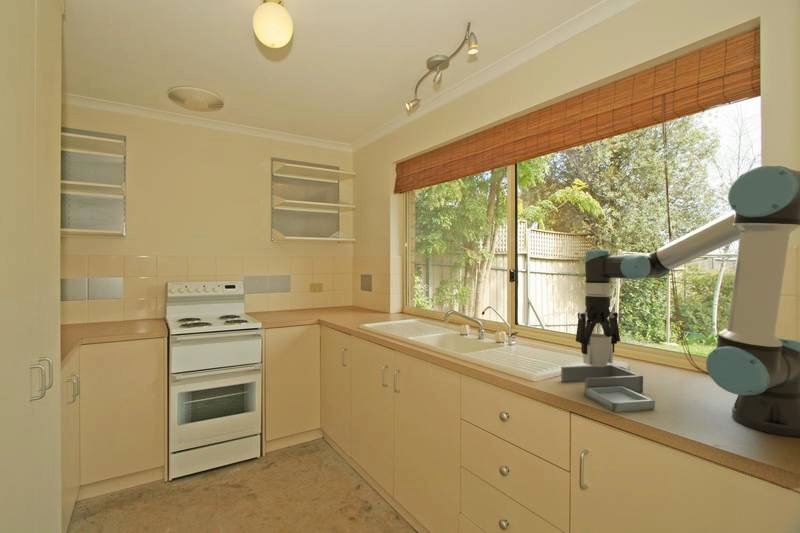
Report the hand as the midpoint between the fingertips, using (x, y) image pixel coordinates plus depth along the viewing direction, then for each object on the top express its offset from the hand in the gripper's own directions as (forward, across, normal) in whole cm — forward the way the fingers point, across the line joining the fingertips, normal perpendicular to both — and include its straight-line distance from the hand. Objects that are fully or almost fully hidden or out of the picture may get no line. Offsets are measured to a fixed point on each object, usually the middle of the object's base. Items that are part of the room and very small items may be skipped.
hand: (598, 362), depth 132 cm
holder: (+8, -1, -1) cm, 8 cm away
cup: (+1, 0, 0) cm, 1 cm away
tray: (+8, +4, +14) cm, 17 cm away
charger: (+8, -17, -13) cm, 23 cm away
